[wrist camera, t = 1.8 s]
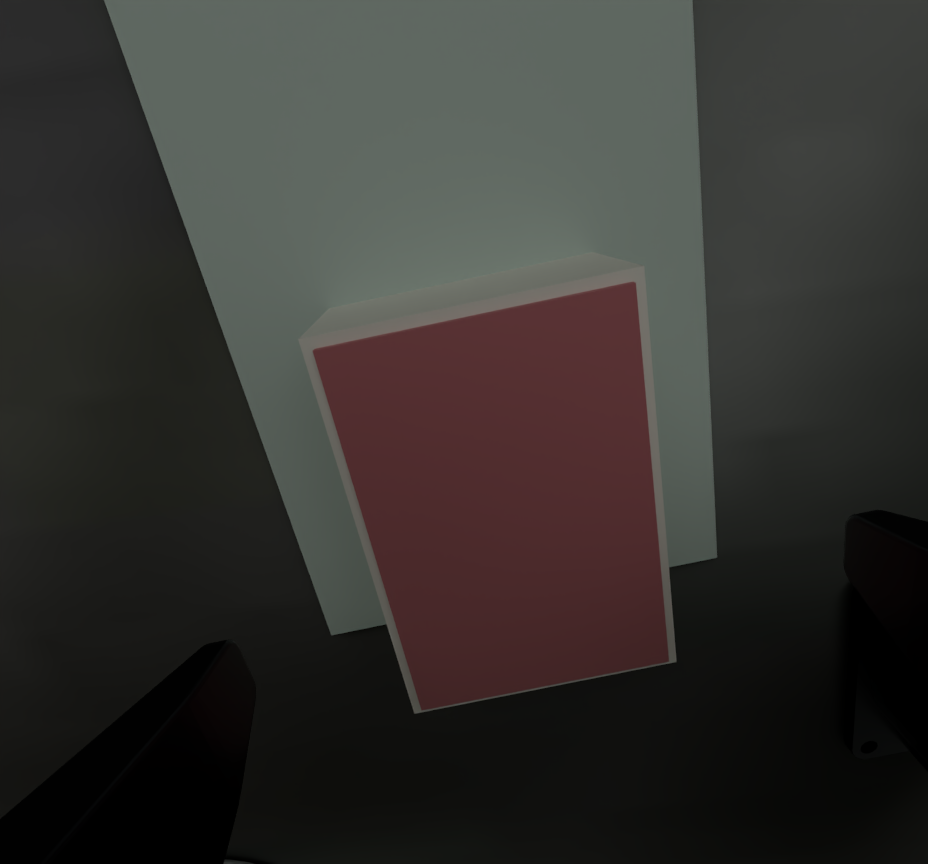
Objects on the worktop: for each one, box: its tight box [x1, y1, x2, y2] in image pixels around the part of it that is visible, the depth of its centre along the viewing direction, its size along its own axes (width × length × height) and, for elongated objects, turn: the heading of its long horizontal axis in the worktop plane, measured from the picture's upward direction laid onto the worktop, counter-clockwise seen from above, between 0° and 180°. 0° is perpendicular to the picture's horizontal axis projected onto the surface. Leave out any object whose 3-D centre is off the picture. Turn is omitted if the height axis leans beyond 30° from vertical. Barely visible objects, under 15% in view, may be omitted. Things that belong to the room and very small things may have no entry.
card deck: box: [298, 252, 677, 714], centre depth 12 cm, size 8×6×3 cm
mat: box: [104, 0, 717, 635], centre depth 12 cm, size 16×10×1 cm, turn 11°
